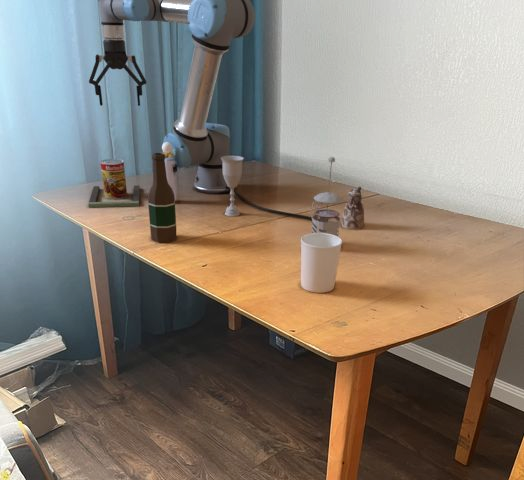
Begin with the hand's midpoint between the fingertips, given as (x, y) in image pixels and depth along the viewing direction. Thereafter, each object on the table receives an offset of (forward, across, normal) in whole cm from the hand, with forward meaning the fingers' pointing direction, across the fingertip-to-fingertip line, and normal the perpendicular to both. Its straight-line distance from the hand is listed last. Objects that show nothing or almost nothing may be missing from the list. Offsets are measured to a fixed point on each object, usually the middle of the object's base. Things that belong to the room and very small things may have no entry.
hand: (120, 105), depth 203 cm
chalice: (+27, -35, +48) cm, 65 cm away
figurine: (+27, -72, +63) cm, 100 cm away
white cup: (+27, -49, +106) cm, 120 cm away
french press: (+27, -58, +79) cm, 101 cm away
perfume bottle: (+27, -16, +33) cm, 45 cm away
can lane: (+27, +3, +26) cm, 37 cm away
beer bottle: (+27, -12, +69) cm, 75 cm away
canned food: (+27, +3, +24) cm, 36 cm away
